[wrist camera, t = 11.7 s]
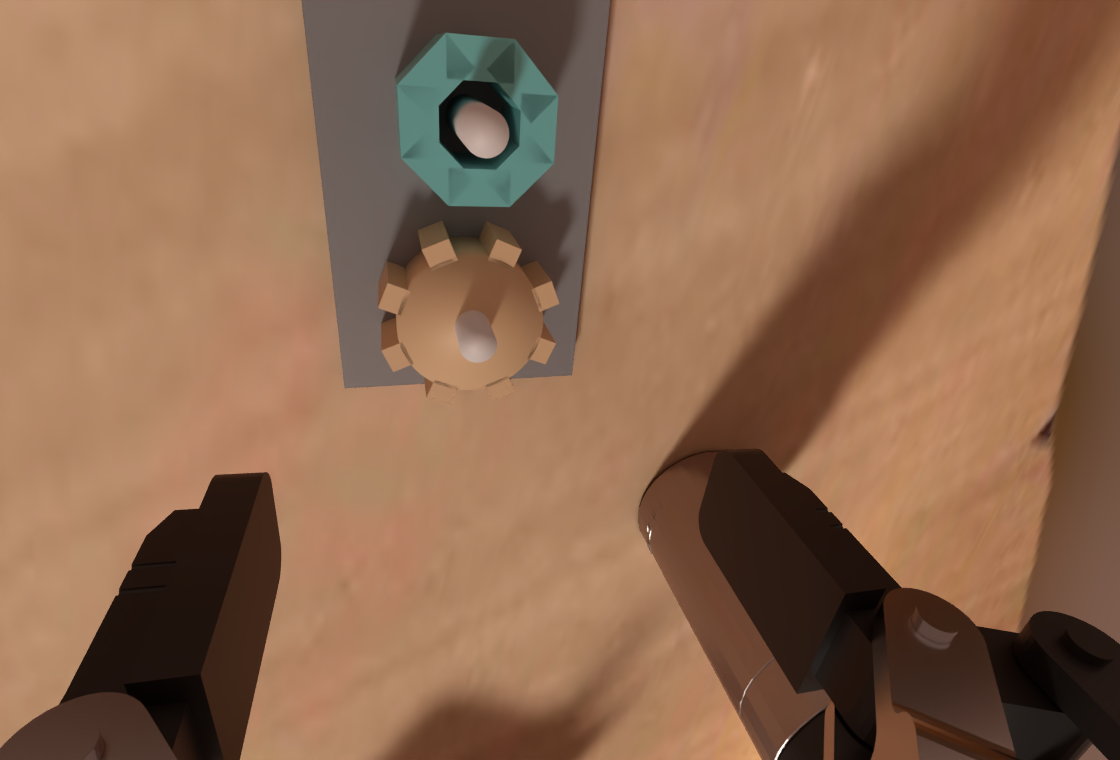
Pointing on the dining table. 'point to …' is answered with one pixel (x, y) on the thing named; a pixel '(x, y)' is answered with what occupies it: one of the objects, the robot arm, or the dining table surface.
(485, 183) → the hollow teal octagon tube
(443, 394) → the gear board
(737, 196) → the dining table surface
